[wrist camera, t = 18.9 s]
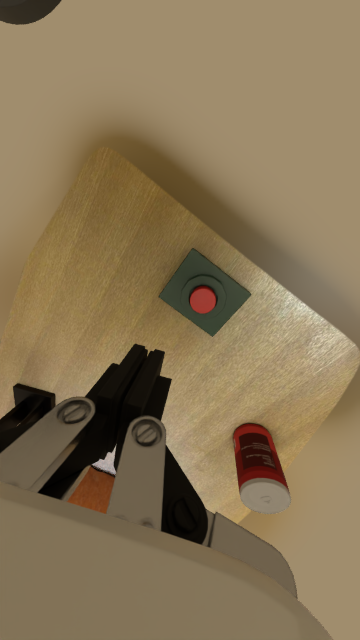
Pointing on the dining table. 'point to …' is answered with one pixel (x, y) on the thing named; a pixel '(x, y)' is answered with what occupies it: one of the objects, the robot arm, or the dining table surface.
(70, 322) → the dining table surface
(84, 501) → the bread
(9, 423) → the bracket
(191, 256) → the button box
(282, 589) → the robot arm
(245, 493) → the canned food
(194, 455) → the dining table surface
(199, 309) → the button
